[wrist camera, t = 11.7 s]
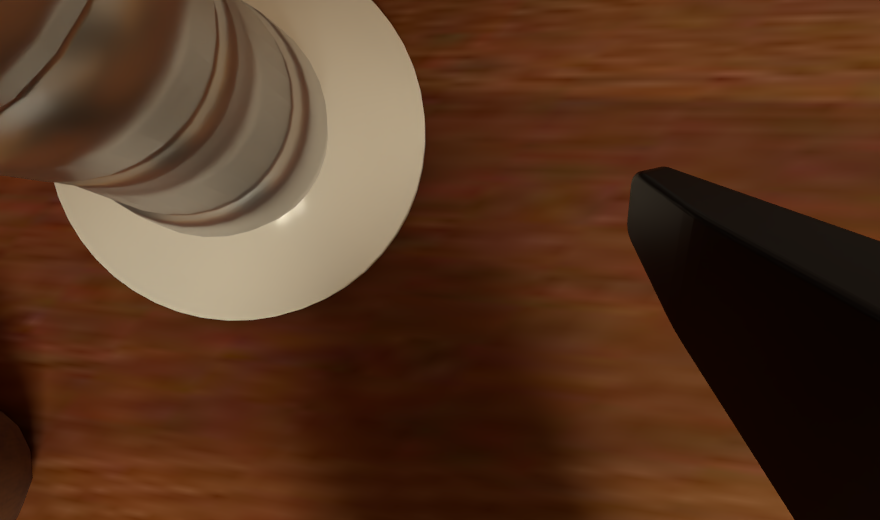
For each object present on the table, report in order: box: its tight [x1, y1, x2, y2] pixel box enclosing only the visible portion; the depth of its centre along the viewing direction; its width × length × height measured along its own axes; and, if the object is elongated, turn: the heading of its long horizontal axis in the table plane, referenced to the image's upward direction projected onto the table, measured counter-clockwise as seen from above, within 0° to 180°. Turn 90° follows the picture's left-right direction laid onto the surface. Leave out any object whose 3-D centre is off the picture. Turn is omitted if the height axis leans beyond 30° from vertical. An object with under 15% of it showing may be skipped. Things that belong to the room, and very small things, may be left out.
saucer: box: [54, 0, 426, 321], centre depth 21 cm, size 12×12×1 cm
